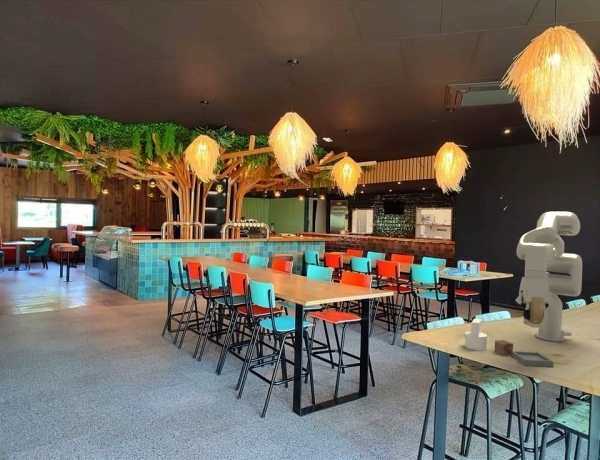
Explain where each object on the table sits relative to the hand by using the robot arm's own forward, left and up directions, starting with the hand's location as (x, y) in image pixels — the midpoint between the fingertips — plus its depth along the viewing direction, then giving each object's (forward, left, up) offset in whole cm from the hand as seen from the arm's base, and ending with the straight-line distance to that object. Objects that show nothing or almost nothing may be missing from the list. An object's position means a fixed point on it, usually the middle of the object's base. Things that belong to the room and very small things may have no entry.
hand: (533, 318), depth 162 cm
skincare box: (0, 0, -3) cm, 3 cm away
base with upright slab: (+16, -16, -18) cm, 29 cm away
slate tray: (0, 0, -17) cm, 17 cm away
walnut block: (+7, -9, -17) cm, 21 cm away
